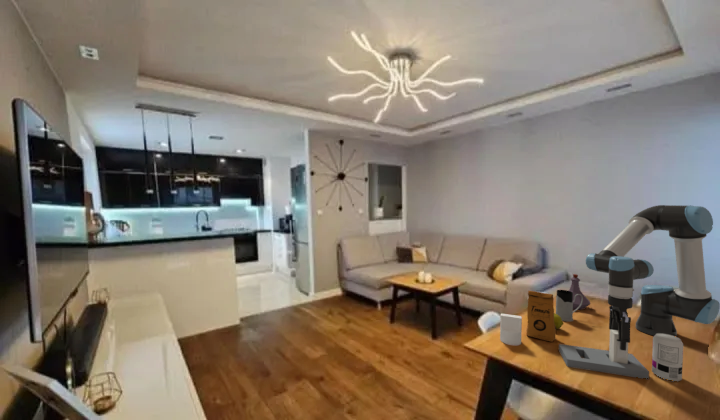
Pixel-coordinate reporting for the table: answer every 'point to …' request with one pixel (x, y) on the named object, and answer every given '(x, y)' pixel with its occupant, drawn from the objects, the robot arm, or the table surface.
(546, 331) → the coffee package
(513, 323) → the white piece
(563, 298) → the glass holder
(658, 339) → the supplement can
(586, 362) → the socket plate
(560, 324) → the lemon
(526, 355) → the table surface
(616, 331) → the square peg
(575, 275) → the flask
